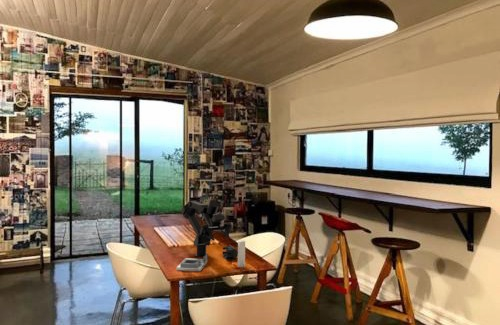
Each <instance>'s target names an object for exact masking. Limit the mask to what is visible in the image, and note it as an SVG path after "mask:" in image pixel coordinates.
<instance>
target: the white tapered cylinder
mask: <svg viewBox="0 0 500 325" xmlns="http://www.w3.org/2000/svg"><path fill="white" fill-rule="evenodd" d="M237 251H238V256H237V267H238V268H245V267H246V240H237Z"/></svg>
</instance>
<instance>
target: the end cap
mask: <svg viewBox="0 0 500 325" xmlns="http://www.w3.org/2000/svg"><path fill="white" fill-rule="evenodd" d="M222 250H224V251H222V257H223V259H225V260H226V261H233V260H235V259H236V258H238V249H237V248H235V247H234V246H233V245H231V244H228V246H226V245H225V246H222Z"/></svg>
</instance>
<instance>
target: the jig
mask: <svg viewBox="0 0 500 325" xmlns="http://www.w3.org/2000/svg"><path fill="white" fill-rule="evenodd" d="M207 254H208V253H206V254H205V256H204V257H202V258H190V257H189V258H187V257H185V258H184V259H183V260H182V261H181V262H180V263H179V264H178V265H177V266H176V268H175V270H176V271H184V272H185V271H187V272H188V271H189V272H201V271H202V270H203V269H204V267H205V266H206V265H207V263H208V260H209V259H208V255H207Z"/></svg>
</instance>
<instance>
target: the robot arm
mask: <svg viewBox="0 0 500 325" xmlns="http://www.w3.org/2000/svg"><path fill="white" fill-rule="evenodd" d="M219 206H220V203H219V202H218V201H215V200H214V199H210V200H209V202H208V204H207V203H206V204H205V203H202V202H198V201H197V200H188V202H187V203H186V204H185V205H183V206H182V208H181V215H182V216H183V218H184V219H186V220H188V222H189V223H190V226H191V227H192V230H193V231H194V233H195V238H194V240H193V246H195V247H196V254H194V256H195V257H200V258H201V257H202V258H203V257H204V256H205V254H207V256H208V255H209V253H207V246H210V244H211V241H213V242H214V241H215V240H216V239H215V237H214V234H213V232H219V231H222V233H223V235H224V236H225V238H226V239H227V240H230V233H231V230H232V227H233V225H232V223H231V222H224V223H223V225H222V221H224V220H225V219H226V216H225V214H224V213H221V214H219V213H218V214H217V212H218V210H219V208H220V207H219ZM196 212H198V213H199V214H200V215H203V221H205V222H206V223H207V224H203V225H201V224H200V222H199V220H198V218H197V217H196ZM221 225H222V226H221Z"/></svg>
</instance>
